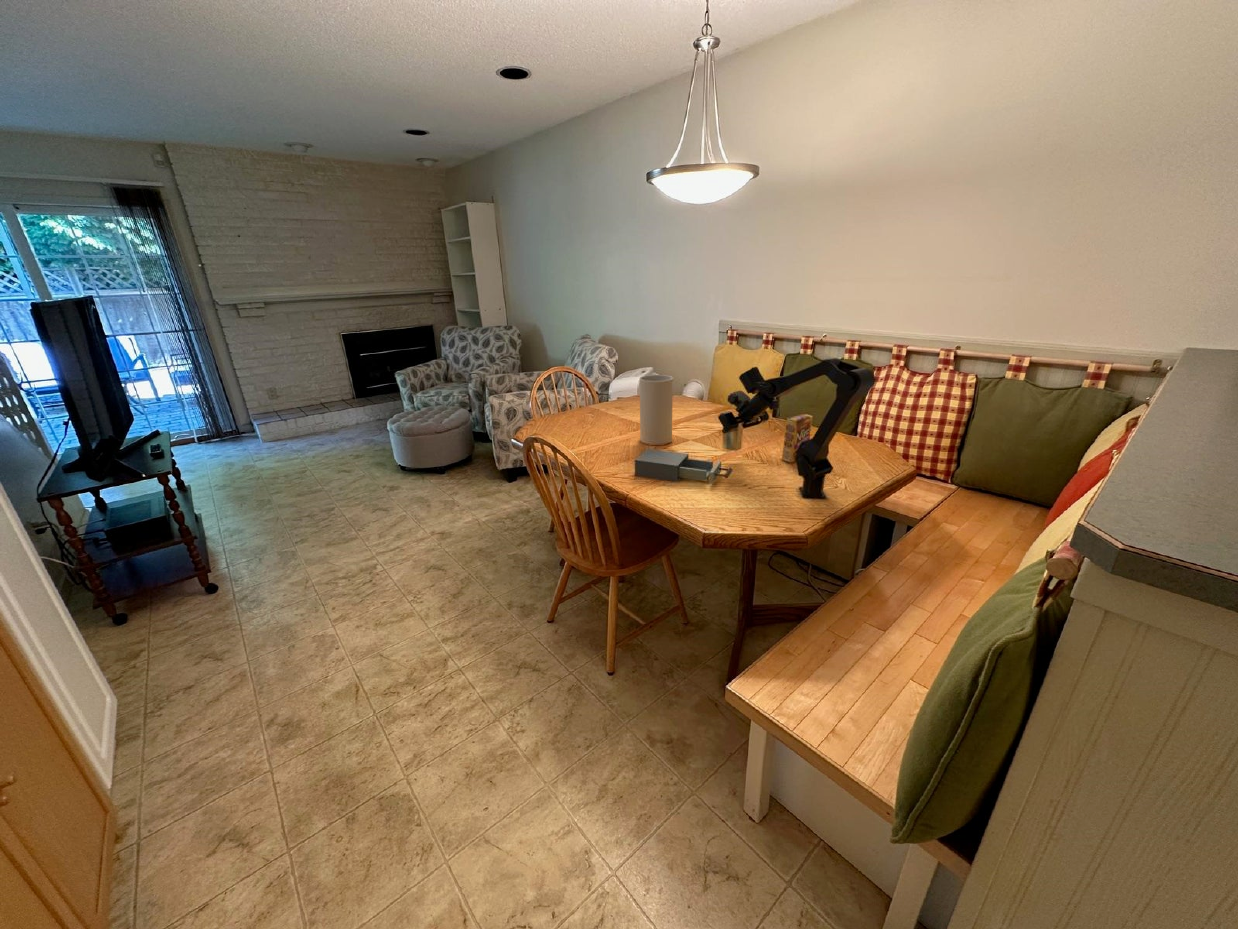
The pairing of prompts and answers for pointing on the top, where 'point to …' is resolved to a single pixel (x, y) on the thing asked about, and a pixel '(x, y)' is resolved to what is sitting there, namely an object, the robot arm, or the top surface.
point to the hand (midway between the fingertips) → (730, 430)
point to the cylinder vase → (656, 409)
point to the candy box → (796, 435)
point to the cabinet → (659, 464)
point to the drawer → (702, 470)
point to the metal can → (733, 439)
